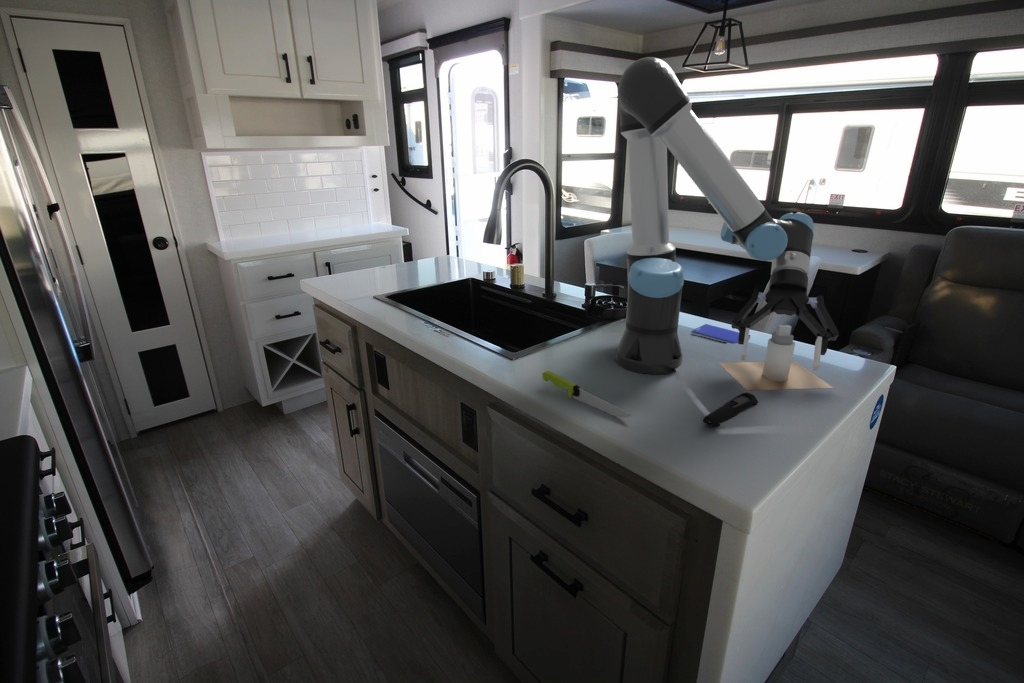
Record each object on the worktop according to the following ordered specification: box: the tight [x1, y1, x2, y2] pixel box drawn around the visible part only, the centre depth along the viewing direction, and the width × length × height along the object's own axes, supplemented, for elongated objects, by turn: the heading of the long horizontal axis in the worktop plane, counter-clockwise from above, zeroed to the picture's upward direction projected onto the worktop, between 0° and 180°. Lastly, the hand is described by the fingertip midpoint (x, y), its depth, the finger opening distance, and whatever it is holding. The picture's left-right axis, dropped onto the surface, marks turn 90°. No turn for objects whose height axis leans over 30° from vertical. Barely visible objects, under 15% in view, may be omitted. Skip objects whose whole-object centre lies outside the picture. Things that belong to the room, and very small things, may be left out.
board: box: [718, 360, 834, 391], centre depth 111 cm, size 18×14×1 cm
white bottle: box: [762, 324, 796, 382], centre depth 107 cm, size 5×5×12 cm
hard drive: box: [690, 323, 751, 345], centre depth 136 cm, size 2×8×12 cm
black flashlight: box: [702, 392, 759, 428], centre depth 95 cm, size 4×16×3 cm, turn 128°
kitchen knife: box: [541, 370, 633, 419], centre depth 101 cm, size 22×1×3 cm, turn 43°
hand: (778, 362), depth 106 cm, fingers open, 13 cm apart
